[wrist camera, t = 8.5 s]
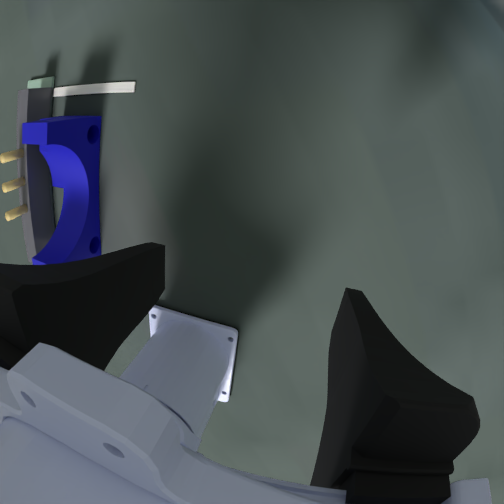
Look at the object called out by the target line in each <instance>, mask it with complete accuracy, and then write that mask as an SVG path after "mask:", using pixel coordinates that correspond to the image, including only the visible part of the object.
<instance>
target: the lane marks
mask: <svg viewBox="0 0 504 504" xmlns="http://www.w3.org/2000/svg"><path fill="white" fill-rule="evenodd" d="M135 84H136V82H115V83H99V84H87V85H77V86H67V87H59V88H54V96H53V97H58V96H68V95H80V94H96V93H120V92H135Z"/></svg>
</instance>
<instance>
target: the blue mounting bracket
mask: <svg viewBox="0 0 504 504" xmlns="http://www.w3.org/2000/svg"><path fill="white" fill-rule="evenodd" d="M101 117H102V116H58V117H50V118H43V119H40V120H39V121H32V122H26V123H22V144H36V145H39V151H40V152H41V153H42V155H43V156H44V157H45V159H46V161H47V163H48V165H49V168H50V171H51V176H52V183H53V186H54V187H60V188H64V198H63V206H62V211H61V215H60V219H59V222H58V225H57V227H56V229H55V231H54V233H53V235H52V237H51V239H50V240H49V242H48V243H47V244H46V246H45V247H44V248H43V249H42V250H41V251H40V252H39V253H38V254H37V255H35V256H34V257H33V258H32V262H33V265H45V264H56V263H65V262H72V261H78V260H83V259H88V258H92V257H96V256H99V255H101V241H100V219H99V153H100V132H101Z"/></svg>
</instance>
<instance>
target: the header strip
mask: <svg viewBox="0 0 504 504" xmlns="http://www.w3.org/2000/svg"><path fill="white" fill-rule="evenodd" d="M54 78H55V76H52V77H46V78H41V79H36V80H31V81H28V89H23V90H18V105H17V150H13V151H9V152H6V153H2V154H1V155H0V160H1V162H2V163H5V162H8V161H12V160H15V159H17V169H18V178H17V179H14V180H11V181H9V182H6V183H3V184H2V190H3V192H4V193H6V192H8V191H11V190H13V189H16V188H19V197H20V206H19V207H16V208H14V209H12V210H10V211H7V212H6V213H5V217H6V219H7V221H10V220H12V219H14V218H16V217H18V216H20V215H21V216H22V224H23V231H24V238H25V244H26V250H27V256H28V261H29V262H31V263H33V262H32V258H33V257H34V256H35V255H37V254H38V253H39V252H40V251H41V250H42V249H43V248H44V247H45V246H46V244H47V243H48V242H49V240H50V239H51V237H52V235H53V233H54V231H55V219H54V208H53V194H52V176H51V171H50V168H49V165H48V163H47V161H46V159H45V157H44V156H43V155H42V153H41V152H40V151H39V145H36V144H22V123H26V122H32V121H39V120H40V119H43V118H50V117H52V102H53V89H54Z"/></svg>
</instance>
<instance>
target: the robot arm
mask: <svg viewBox="0 0 504 504" xmlns="http://www.w3.org/2000/svg"><path fill="white" fill-rule="evenodd" d="M164 289H165V245H161V244H157V243H153V242H151V243H144V244H140V245H136V246H132V247H129V248H125V249H122V250H118V251H115V252H111V253H107V254H103V255H99V256H96V257H92V258H88V259H83V260H78V261H72V262H65V263H56V264H45V265H14V264H2V263H0V504H492V500H491V493H490V487H489V481H488V478H478V479H466V480H459V481H456V482H453V483H451V484H450V481H449V475H451V474H452V473H453V471H454V465H453V460H454V459H455V458H456V457H457V456H458V455H459V454H460V453H461V452H462V451H463V450H464V449H465V448H466V447H467V446H468V445H469V444H470V443H471V442H472V440H473V439H474V438H475V436H476V435H477V433H478V431H479V428H480V418H479V415H478V411H477V408H476V405H475V401H474V398H473V397H472V396H470V395H468V394H467V393H465V392H463V391H461V390H459V389H457V388H456V387H454V386H452V385H450V384H449V383H447V382H446V381H444V380H443V379H441V378H440V377H438V376H437V375H436V374H434V373H433V372H432V371H430V370H429V369H428V368H426V367H425V366H424V365H423V364H422V363H420V362H419V361H418V360H417V359H416V358H415V357H414V356H412V355H411V354H410V353H409V352H408V351H407V350H406V349H405V348H404V346H403V345H402V344H401V343H400V342H399V341H398V340H397V339H396V338H395V337H394V335H393V334H392V333H391V332H390V330H389V329H388V328H387V327H386V325H385V324H384V323H383V321H382V320H381V319H380V317H379V316H378V314H377V313H376V311H375V310H374V309H373V307H372V306H371V304H370V303H369V301H368V300H367V298H366V297H365V295H364V294H363V292H362V291H359V290H355V289H350V288H346V289H345V292H344V295H343V298H342V302H341V305H340V308H339V311H338V314H337V317H336V320H335V323H334V326H333V329H332V333H331V340H330V347H329V358H328V396H327V409H326V415H325V421H324V427H323V432H322V437H321V442H320V447H319V451H318V456H317V460H316V464H315V468H314V472H313V476H312V480H311V484H310V485H304V484H298V483H293V482H288V481H283V480H278V479H273V478H269V477H264V476H260V475H256V474H252V473H248V472H244V471H240V470H237V469H233V468H229V467H226V466H223V465H221V464H219V463H217V462H215V461H212V460H210V459H208V458H206V457H205V456H204V455H203V454H201V453H199V452H197V449H198V447H199V445H200V443H201V441H202V440H201V436H202V433H203V431H204V429H205V427H206V425H207V422H208V420H209V418H210V416H211V414H212V411H213V409H214V407H215V405H216V403H217V400H219V401H222V402H227V401H228V400H229V397H230V390H231V383H232V375H233V368H234V361H235V354H236V347H237V339H238V331H237V330H236V329H235V328H232V327H229V326H225V325H221V324H218V323H214V322H210V321H207V320H203V319H200V318H197V317H193V316H190V315H186V314H183V313H180V312H176V311H173V310H170V309H167V308H163V307H160V306H157V305H155V304H156V302H157V301H158V299H159V297H160V296H161V294H162V293H163V291H164ZM148 313H149V321H150V335H151V338H150V339H149V340H148V342H147V343H146V344H145V346H144V347H143V348H142V349H141V351H140V352H139V353H138V354H137V356H136V357H135V358H134V359H133V361H132V362H131V363H130V364H129V366H128V367H127V368H126V370H125V371H124V372H123V373H122V375H121V376H120V377H119V378H118V377H116V376H114V375H111V374H109V373H107V372H105V371H104V370H105V368H106V367H107V365H108V363H109V362H110V360H111V359H112V357H113V356H114V354H115V352H116V351H117V349H118V348H119V347H120V345H121V344H122V343H123V341H124V340H125V339H126V338H127V337H128V336H129V334H130V333H131V332H132V331H133V330H134V329H135V327H136V326H137V325H138V324H139V323H140V322H141V321H142V320H143V318H144V317H145V316H146V315H147V314H148ZM154 314H155V315H156V316H155V315H154ZM229 337H232V338H233V339H231V338H229Z"/></svg>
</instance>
